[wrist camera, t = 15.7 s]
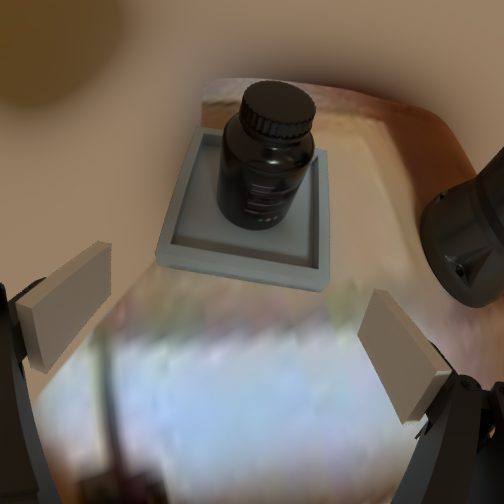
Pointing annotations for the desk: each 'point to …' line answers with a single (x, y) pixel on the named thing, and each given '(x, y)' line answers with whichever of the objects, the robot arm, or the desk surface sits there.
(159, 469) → the desk surface
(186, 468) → the desk surface
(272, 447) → the desk surface
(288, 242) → the tray
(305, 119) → the supplement bottle
